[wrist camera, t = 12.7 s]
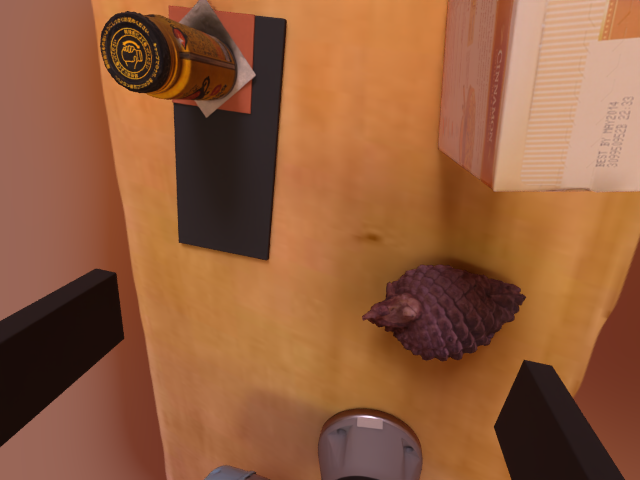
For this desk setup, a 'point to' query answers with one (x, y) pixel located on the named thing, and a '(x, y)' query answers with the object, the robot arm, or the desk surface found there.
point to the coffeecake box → (543, 93)
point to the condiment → (175, 56)
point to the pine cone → (445, 310)
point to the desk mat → (232, 147)
